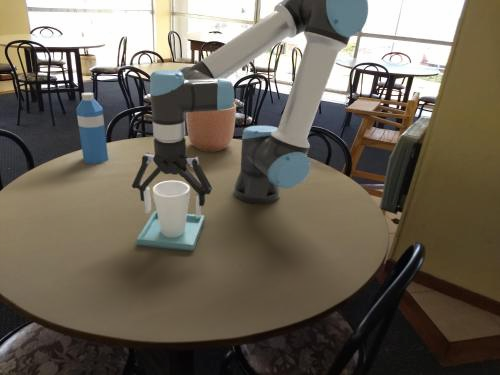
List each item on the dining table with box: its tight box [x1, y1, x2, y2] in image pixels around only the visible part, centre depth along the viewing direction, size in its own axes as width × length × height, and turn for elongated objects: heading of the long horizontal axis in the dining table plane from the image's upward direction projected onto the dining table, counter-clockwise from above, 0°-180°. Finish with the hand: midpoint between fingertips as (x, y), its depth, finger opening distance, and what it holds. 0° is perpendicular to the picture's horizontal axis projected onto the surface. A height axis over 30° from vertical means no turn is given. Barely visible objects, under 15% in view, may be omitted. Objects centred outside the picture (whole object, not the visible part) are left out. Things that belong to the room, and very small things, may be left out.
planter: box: [185, 102, 237, 153], centre depth 159 cm, size 21×21×19 cm
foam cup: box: [152, 179, 191, 238], centre depth 99 cm, size 10×9×13 cm
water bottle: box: [76, 92, 109, 165], centre depth 138 cm, size 9×9×25 cm
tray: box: [136, 210, 205, 252], centre depth 102 cm, size 15×15×2 cm
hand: (173, 213), depth 100 cm, fingers open, 13 cm apart
